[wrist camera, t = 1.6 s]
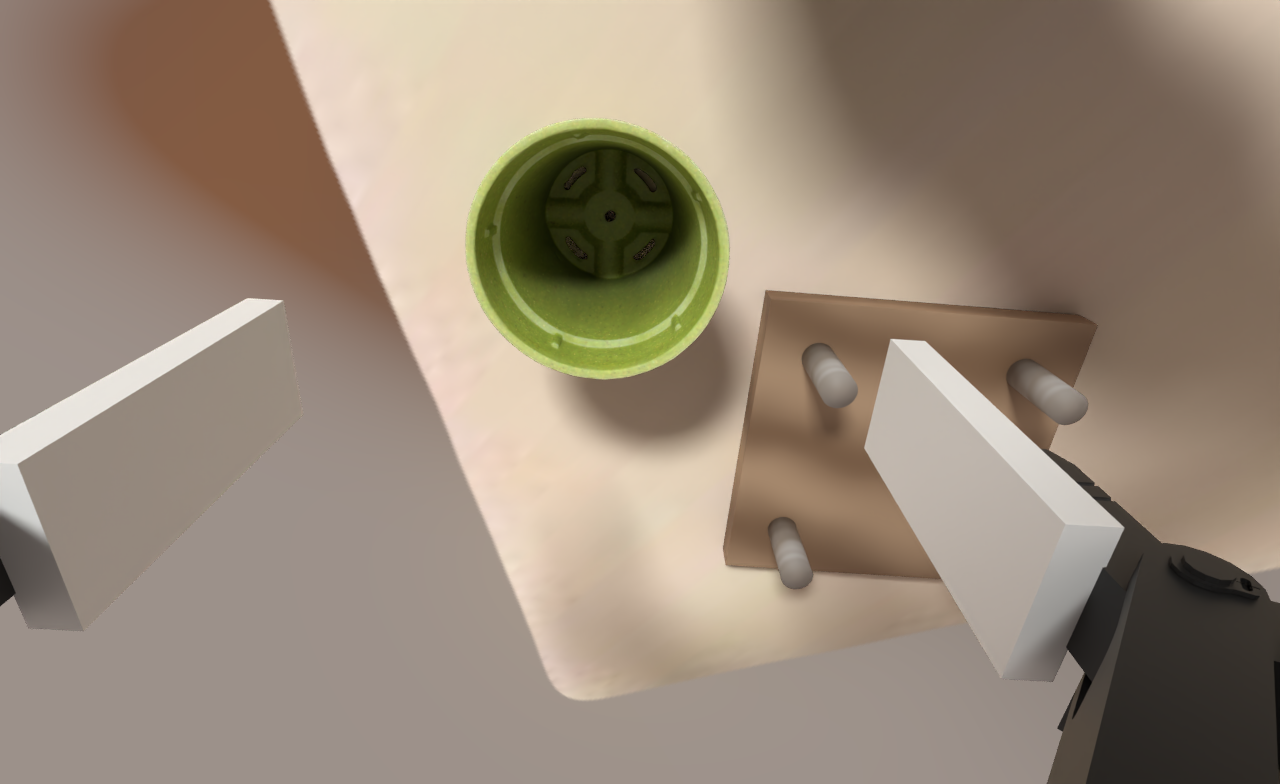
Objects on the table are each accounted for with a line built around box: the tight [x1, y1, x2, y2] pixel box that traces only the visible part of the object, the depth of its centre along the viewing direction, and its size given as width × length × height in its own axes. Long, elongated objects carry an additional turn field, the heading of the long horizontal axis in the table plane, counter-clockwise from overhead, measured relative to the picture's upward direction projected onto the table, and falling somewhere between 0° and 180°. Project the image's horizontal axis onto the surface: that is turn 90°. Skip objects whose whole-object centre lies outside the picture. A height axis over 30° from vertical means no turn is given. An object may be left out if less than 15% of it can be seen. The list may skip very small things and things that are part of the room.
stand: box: [723, 290, 1098, 589], centre depth 34 cm, size 16×16×6 cm
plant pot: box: [465, 118, 730, 380], centre depth 27 cm, size 9×9×9 cm
